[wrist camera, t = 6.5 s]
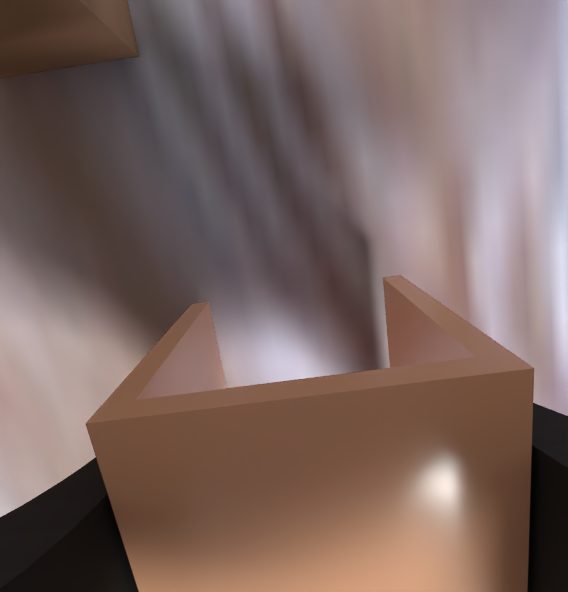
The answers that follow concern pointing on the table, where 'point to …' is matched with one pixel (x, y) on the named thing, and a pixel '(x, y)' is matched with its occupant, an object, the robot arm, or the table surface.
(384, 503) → the cover
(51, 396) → the table surface
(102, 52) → the block
